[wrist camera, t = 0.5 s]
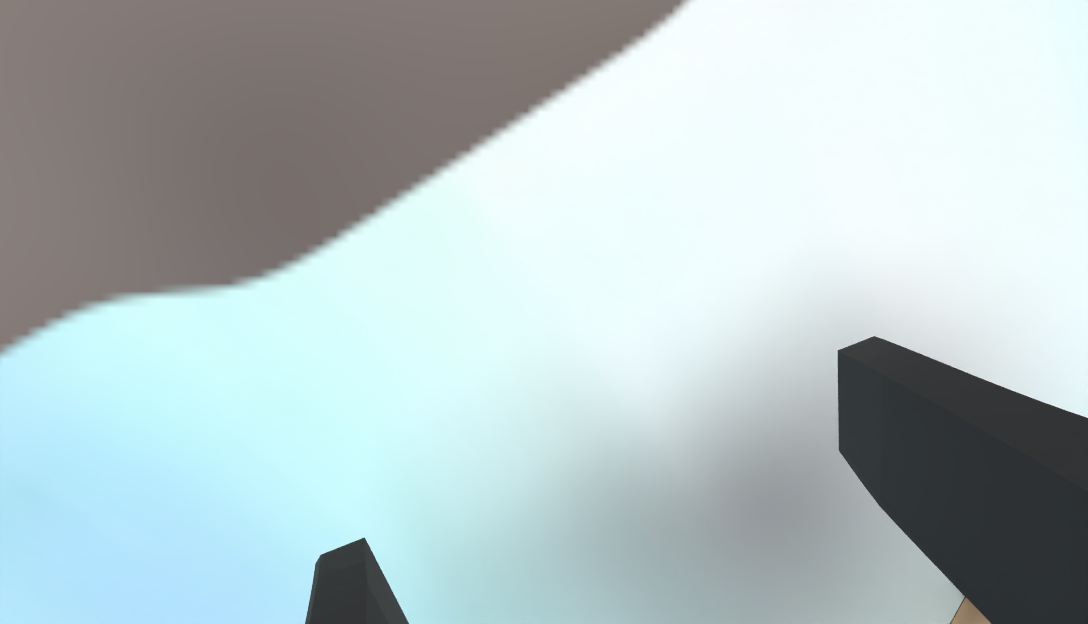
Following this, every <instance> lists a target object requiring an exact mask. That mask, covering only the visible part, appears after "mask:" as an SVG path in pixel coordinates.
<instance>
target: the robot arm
mask: <svg viewBox="0 0 1088 624" xmlns="http://www.w3.org/2000/svg"><path fill="white" fill-rule="evenodd" d="M838 412H839V451H840V453H841V454H842V455H843V457H844V458H845V460H846V461H847V462H848V464H849V465H850V467H851V468H852V469H853V471H854V472H855V474H856V475H857V476H858V478H859V479H860V481H861V482H862V483H863V485H864V486H865V487H866V489H867V490H868V491H869V493H870V494H871V495H872V496H873V498H874V499H875V500H876V502H877V503H878V504H879V506H880V507H881V508H882V509H883V510H884V511H885V512H886V513H887V514H888V516H889V517H890V518H891V519H892V520H893V521H894V522H895V523H896V524H897V525H898V526H899V527H900V528H901V529H902V531H903V532H904V533H905V534H906V535H907V536H908V537H909V538H910V539H911V540H912V541H913V542H914V543H915V544H916V545H917V546H918V548H919V549H920V550H921V551H922V552H923V553H924V554H925V555H926V556H927V557H928V558H929V559H930V560H931V561H932V562H933V563H934V564H935V565H936V566H937V567H938V568H939V570H940V571H941V572H942V573H943V574H944V575H945V576H946V577H947V578H948V579H949V580H950V581H951V582H952V583H953V584H954V585H955V586H956V587H957V588H958V589H959V590H960V591H961V592H962V594H963V595H964V596H965V597H966V598H967V599H968V600H969V601H970V602H971V603H972V604H973V605H974V606H975V607H976V608H977V609H978V610H979V611H980V612H981V613H982V614H983V616H984V617H985V618H986V619H987V620H988V621H989V622H990V623H991V624H1088V418H1086V417H1083V416H1080V415H1077V414H1074V413H1071V412H1068V411H1066V410H1063V409H1060V408H1057V407H1054V406H1052V405H1049V404H1046V403H1043V402H1041V401H1038V400H1035V399H1033V398H1030V397H1027V396H1025V395H1022V394H1019V393H1017V392H1014V391H1011V390H1009V389H1006V388H1004V387H1001V386H999V385H996V384H993V383H991V382H988V381H986V380H983V379H981V378H978V377H976V376H973V375H971V374H968V373H966V372H963V371H961V370H958V369H956V368H953V367H951V366H949V365H946V364H944V363H941V362H939V361H936V360H934V359H931V358H929V357H926V356H924V355H921V354H919V353H916V352H914V351H912V350H909V349H907V348H904V347H901V346H899V345H896V344H894V343H891V342H889V341H886V340H883V339H880V338H878V337H875V336H874V337H871V338H869V339H866V340H863V341H861V342H858V343H856V344H853V345H851V346H848V347H846V348H843V349H841V350H838ZM305 624H409V623H408V621H407V619H406V617H405V615H404V613H403V611H402V609H401V607H400V606H399V604H398V602H397V600H396V598H395V596H394V594H393V592H392V590H391V588H390V586H389V584H388V582H387V580H386V578H385V576H384V574H383V572H382V570H381V569H380V567H379V565H378V563H377V561H376V559H375V557H374V555H373V553H372V551H371V549H370V547H369V545H368V543H367V541H366V539H365V538H362V539H360V540H357V541H355V542H352V543H350V544H347V545H345V546H342V547H340V548H337V549H334V550H332V551H329V552H327V553H324V554H322V555H320V557H319V559H318V561H317V562H316V565H315V572H314V578H313V585H312V590H311V596H310V602H309V607H308V612H307V617H306V622H305Z"/></svg>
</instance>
